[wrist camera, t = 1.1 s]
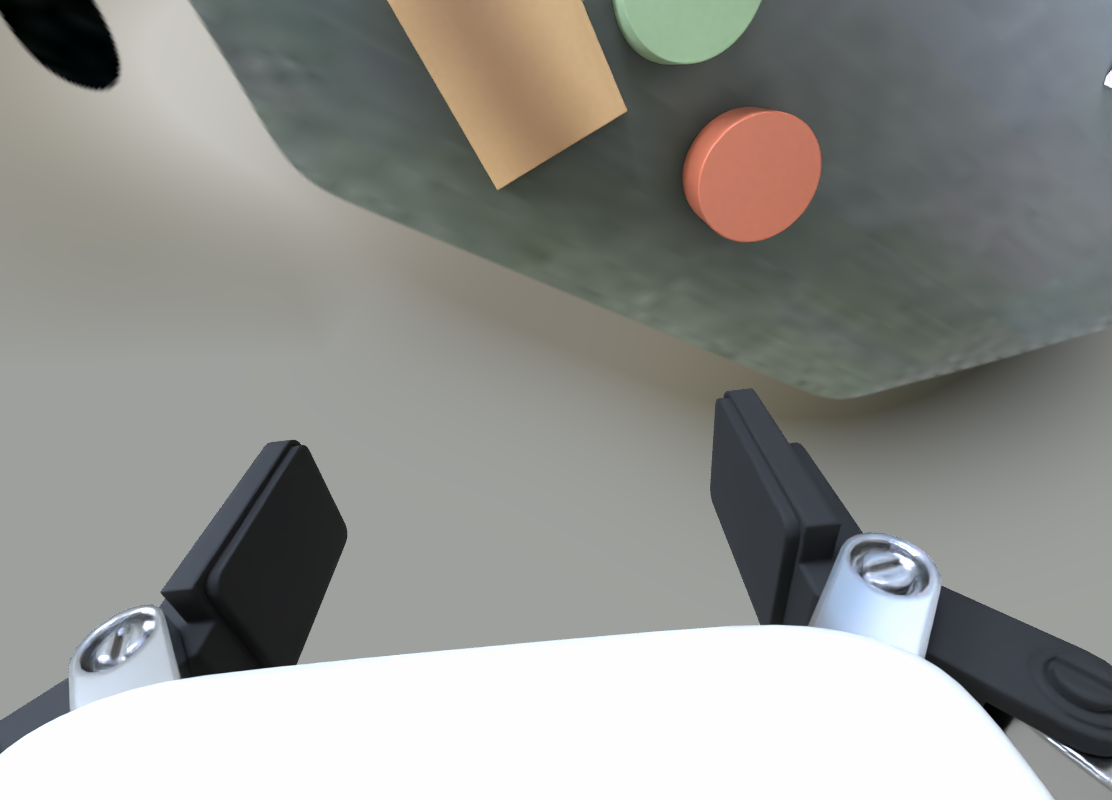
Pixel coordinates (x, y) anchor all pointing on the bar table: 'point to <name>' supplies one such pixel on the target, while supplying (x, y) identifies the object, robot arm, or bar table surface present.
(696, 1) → the sage disc
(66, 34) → the bar table surface
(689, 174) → the terracotta disc
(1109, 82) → the lily
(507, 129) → the board
